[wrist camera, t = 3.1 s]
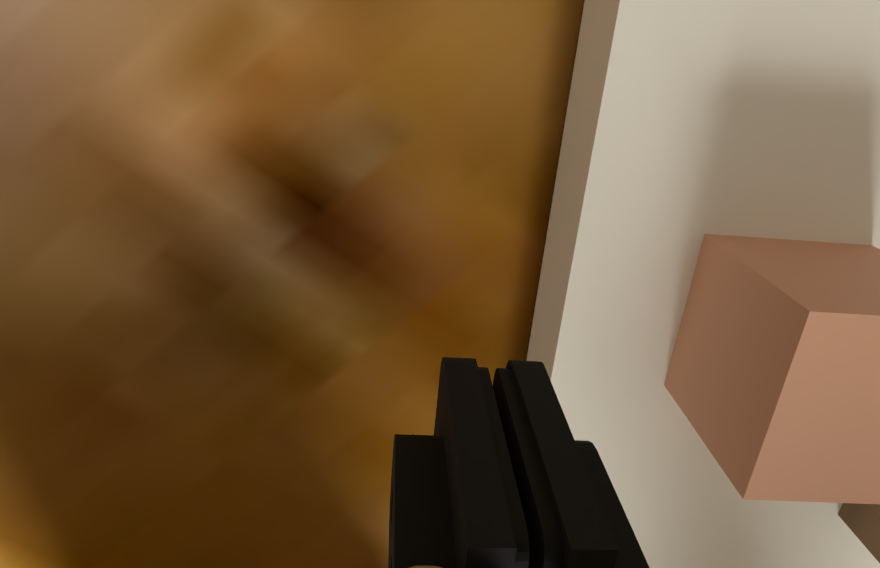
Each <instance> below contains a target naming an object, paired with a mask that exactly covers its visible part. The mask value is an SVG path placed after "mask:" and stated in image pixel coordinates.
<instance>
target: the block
mask: <svg viewBox="0 0 880 568" xmlns="http://www.w3.org/2000/svg"><path fill="white" fill-rule="evenodd" d="M664 386H665V387H666V388H667V390H668V391H669V393H670V394H671V396H672V397H673V399H674V400H675V402H676V403H677V404H678V406H679V407H680V409H681V410H682V412H683V413H684V415H685V416H686V417H687V419H688V420H689V422H690V423H691V425H692V426H693V428H694V429H695V431H696V432H697V433H698V435H699V436H700V438H701V439H702V441H703V442H704V444H705V445H706V446H707V448H708V449H709V451H710V452H711V454H712V455H713V457H714V458H715V460H716V461H717V462H718V464H719V465H720V467H721V468H722V470H723V471H724V473H725V474H726V475H727V477H728V478H729V480H730V481H731V483H732V484H733V486H734V487H735V489H736V490H737V491H738V493H739V494H740V496H741V497H742V499H745V500H773V501H800V502H828V503H855V504H880V249H878V248H876V247H874V246H872V245H860V244H845V243H831V242H816V241H802V240H788V239H773V238H759V237H745V236H730V235H716V234H704V238H703V242H702V245H701V249H700V253H699V257H698V260H697V264H696V268H695V272H694V275H693V279H692V283H691V287H690V290H689V294H688V298H687V302H686V305H685V309H684V313H683V317H682V320H681V324H680V328H679V331H678V335H677V339H676V343H675V346H674V350H673V354H672V358H671V361H670V365H669V369H668V373H667V376H666V380H665V384H664Z"/></svg>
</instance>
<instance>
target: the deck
mask: <svg viewBox="0 0 880 568" xmlns="http://www.w3.org/2000/svg"><path fill="white" fill-rule="evenodd" d="M704 234H716V235H730V236H745V237H759V238H773V239H788V240H802V241H816V242H831V243H845V244H860V245H872V246H874V247H876V248H878V249H880V0H585V1H584V7H583V14H582V20H581V26H580V32H579V38H578V45H577V51H576V57H575V63H574V69H573V75H572V82H571V88H570V94H569V100H568V106H567V113H566V119H565V125H564V131H563V137H562V143H561V150H560V156H559V162H558V168H557V174H556V181H555V187H554V193H553V199H552V205H551V211H550V218H549V224H548V230H547V236H546V242H545V249H544V255H543V261H542V267H541V273H540V279H539V286H538V292H537V298H536V304H535V310H534V317H533V323H532V329H531V335H530V341H529V347H528V354H527V360H526V361H539V362H543V364H544V366H545V368H546V371H547V373H548V376H549V378H550V381H551V383H552V386H553V388H554V391H555V393H556V395H557V398H558V400H559V403H560V405H561V408H562V410H563V413H564V415H565V418H566V420H567V423H568V425H569V428H570V430H571V433H572V435H573V438H574V440H580V441H590V442H592V443H593V444H594V446H595V447H596V449H597V451H598V453H599V455H600V458H601V460H602V462H603V464H604V467H605V469H606V471H607V473H608V476H609V478H610V480H611V482H612V485H613V487H614V489H615V491H616V494H617V496H618V498H619V500H620V502H621V505H622V507H623V509H624V511H625V514H626V516H627V518H628V520H629V523H630V525H631V527H632V529H633V532H634V534H635V536H636V538H637V541H638V543H639V545H640V547H641V550H642V552H643V554H644V556H645V559H646V561H647V563H648V565H649V567H650V568H880V504H855V503H828V502H800V501H773V500H745V499H742V497H741V496H740V494H739V493H738V491H737V490H736V489H735V487H734V486H733V484H732V483H731V481H730V480H729V478H728V477H727V475H726V474H725V473H724V471H723V470H722V468H721V467H720V465H719V464H718V462H717V461H716V460H715V458H714V457H713V455H712V454H711V452H710V451H709V449H708V448H707V446H706V445H705V444H704V442H703V441H702V439H701V438H700V436H699V435H698V433H697V432H696V431H695V429H694V428H693V426H692V425H691V423H690V422H689V420H688V419H687V417H686V416H685V415H684V413H683V412H682V410H681V409H680V407H679V406H678V404H677V403H676V402H675V400H674V399H673V397H672V396H671V394H670V393H669V391H668V390H667V388H666V387H665V386H664V384H665V380H666V376H667V373H668V369H669V365H670V361H671V358H672V354H673V350H674V346H675V343H676V339H677V335H678V331H679V328H680V324H681V320H682V317H683V313H684V309H685V305H686V302H687V298H688V294H689V290H690V287H691V283H692V279H693V275H694V272H695V268H696V264H697V260H698V257H699V253H700V249H701V245H702V242H703V238H704Z"/></svg>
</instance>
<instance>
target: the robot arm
mask: <svg viewBox="0 0 880 568" xmlns="http://www.w3.org/2000/svg"><path fill="white" fill-rule="evenodd" d="M389 568H650V567H649V565H648V563H647V561H646V559H645V556H644V554H643V552H642V550H641V547H640V545H639V543H638V541H637V538H636V536H635V534H634V532H633V529H632V527H631V525H630V523H629V520H628V518H627V516H626V514H625V511H624V509H623V507H622V505H621V502H620V500H619V498H618V496H617V494H616V491H615V489H614V487H613V485H612V482H611V480H610V478H609V476H608V473H607V471H606V469H605V467H604V464H603V462H602V460H601V458H600V455H599V453H598V451H597V449H596V447H595V446H594V444H593V443H592V442H590V441H580V440H574V438H573V435H572V433H571V430H570V428H569V425H568V423H567V420H566V418H565V415H564V413H563V410H562V408H561V405H560V403H559V400H558V398H557V395H556V393H555V391H554V388H553V386H552V383H551V381H550V378H549V376H548V373H547V371H546V368H545V366H544V364H543V362H539V361H516V360H509V361H508V363H507V366H506V369H505V368H497V369H496V371H495V375H494V381H493V386H492V382H491V378H490V374H489V370H488V368H481V367H478V366H477V362H476V359H471V358H449V357H443V358H442V362H441V370H440V380H439V389H438V399H437V409H436V419H435V429H434V436H428V435H398V434H395V436H394V447H393V461H392V476H391V495H390V520H389Z"/></svg>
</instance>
